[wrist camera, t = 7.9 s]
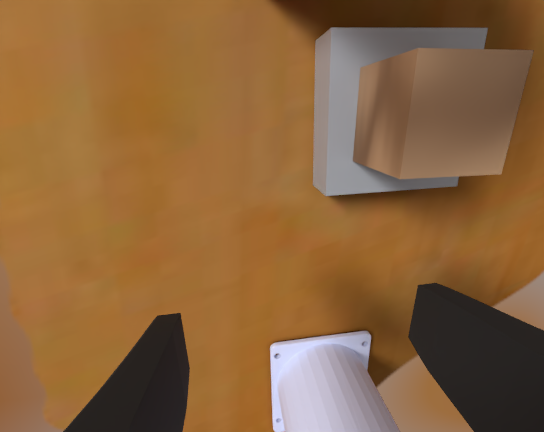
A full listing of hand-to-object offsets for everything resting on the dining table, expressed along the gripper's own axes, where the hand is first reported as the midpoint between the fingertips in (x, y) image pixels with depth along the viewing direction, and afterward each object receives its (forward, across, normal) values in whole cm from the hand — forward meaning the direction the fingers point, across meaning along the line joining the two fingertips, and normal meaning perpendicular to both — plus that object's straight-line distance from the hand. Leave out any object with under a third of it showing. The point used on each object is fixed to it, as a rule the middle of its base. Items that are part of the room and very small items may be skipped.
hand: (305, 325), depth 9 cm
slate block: (+11, -7, -6) cm, 14 cm away
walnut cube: (+8, -7, -6) cm, 12 cm away
